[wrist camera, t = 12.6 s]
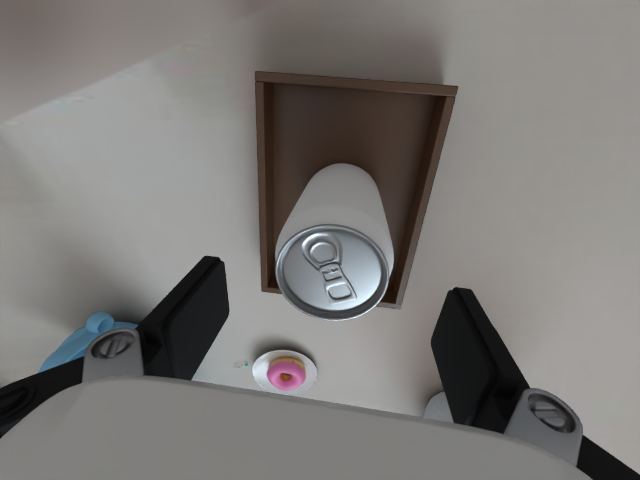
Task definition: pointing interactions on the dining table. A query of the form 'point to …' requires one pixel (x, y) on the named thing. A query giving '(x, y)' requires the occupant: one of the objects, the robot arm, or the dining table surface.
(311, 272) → the can
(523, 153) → the dining table surface
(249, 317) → the dining table surface
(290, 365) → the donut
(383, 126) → the tray
